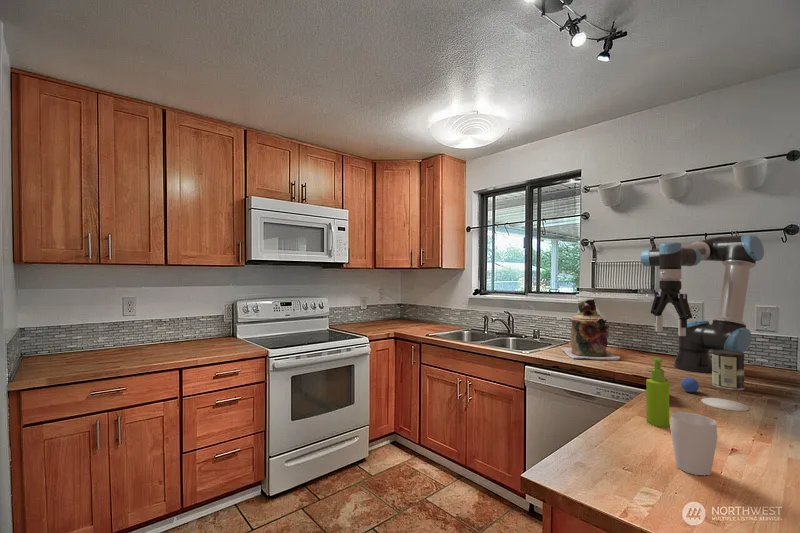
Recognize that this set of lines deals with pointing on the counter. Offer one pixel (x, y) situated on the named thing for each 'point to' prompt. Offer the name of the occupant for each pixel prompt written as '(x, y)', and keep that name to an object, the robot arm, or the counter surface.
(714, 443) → the cup
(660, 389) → the soap dispenser
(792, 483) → the counter surface
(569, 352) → the cookie jar
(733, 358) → the coffee can
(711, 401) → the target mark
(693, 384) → the ball
